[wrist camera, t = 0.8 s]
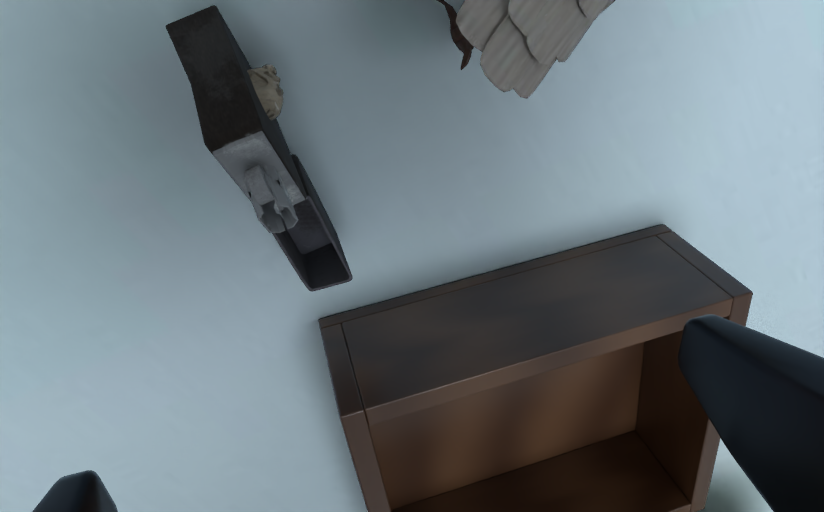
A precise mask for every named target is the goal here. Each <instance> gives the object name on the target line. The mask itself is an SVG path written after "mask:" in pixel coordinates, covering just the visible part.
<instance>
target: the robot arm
mask: <svg viewBox="0 0 824 512" xmlns="http://www.w3.org/2000/svg"><path fill="white" fill-rule="evenodd" d="M677 359H678V365H679V368H680V371H681V373H682V374H683V376H684V378H685V379H686V381H687V383H688V384H689V386H690V388H691V389H692V391H693V393H694V394H695V396H696V398H697V399H698V401H699V403H700V404H701V406H702V408H703V409H704V411H705V413H706V414H707V416H708V418H709V419H710V421H711V423H712V424H713V426H714V428H715V429H716V431H717V433H718V434H719V436H720V438H721V439H722V441H723V442H724V444H725V445H726V447H727V449H728V450H729V452H730V453H731V455H732V456H733V457H734V459H735V460H736V462H737V463H738V464H739V466H740V467H741V469H742V470H743V471H744V473H745V474H746V475H747V477H748V478H749V479H750V481H751V482H752V483H753V485H754V486H755V487H756V489H757V490H758V491H759V493H760V494H761V495H762V497H763V498H764V499H765V501H766V502H767V503H768V505H769V506H770V508H771V509H772V510H773V512H824V358H823V357H820V356H818V355H815V354H813V353H810V352H808V351H805V350H803V349H800V348H798V347H795V346H793V345H790V344H788V343H785V342H782V341H780V340H777V339H775V338H772V337H770V336H767V335H765V334H762V333H760V332H757V331H755V330H752V329H750V328H747V327H745V326H742V325H740V324H737V323H735V322H732V321H730V320H727V319H725V318H722V317H720V316H717V315H713V314H707V315H703V316H699V317H695V318H691V319H689V320H688V321H687V322H686V323H685V325H684V329H683V333H682V338H681V342H680V347H679V351H678V356H677ZM33 512H118V511H117V508H116V505H115V503H114V501H113V500H112V498H111V496H110V494H109V493H108V491H107V489H106V488H105V486H104V484H103V482H102V481H101V479H100V477H99V476H98V474H97V473H96V472H94V471H92V470H90V471H89V470H87V471H84V472H80V473H76V474H72V475H68V476H64V477H62V478H60V479H59V480H58V481H57V482H56V483H55V484H54V485H53V486H52V488H51V489H50V490H49V491H48V493H47V494H46V495H45V496H44V498H43V499H42V500H41V501H40V503H39V504H38V505H37V507H36V508H35V509H34V510H33Z"/></svg>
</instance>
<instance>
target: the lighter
mask: <svg viewBox="0 0 824 512" xmlns="http://www.w3.org/2000/svg"><path fill="white" fill-rule="evenodd" d="M166 29H167V31H168V33H169V36H170V38H171V40H172V42H173V45H174V47H175V49H176V51H177V54H178V56H179V58H180V60H181V63H182V65H183V67H184V70H185V72H186V74H187V76H188V79H189V81H190V83H191V87H192V91H193V95H194V100H195V104H196V108H197V113H198V117H199V121H200V126H201V130H202V134H203V139H204V143H205V145H206V146H207V148H208V149H209V151H210V152H211V153H212V154H213V156H214V157H215V158H216V159H217V161H218V162H219V163H220V164H221V165H222V167H223V168H224V169H225V170H226V172H227V173H228V174H229V175H230V176H231V178H232V179H233V180H234V181H235V182H236V184H237V185H238V186H239V187H240V189H241V190H242V191H243V192H244V193H245V195H246V196H247V197H248V198H249V199H250V201H251V202H252V204H253V207H254V209H255V212H256V215H257V218H258V220H259V221H260V222H261V223H262V225H263V226H264V227H265V228H266V229H267V230H268V232H269V233H272V234H273V235H274V237H275V239H276V240H277V242H278V243H279V245H280V247H281V248H282V250H283V252H284V253H285V255H286V256H287V258H288V260H289V261H290V263H291V264H292V266H293V268H294V269H295V271H296V272H297V274H298V276H299V277H300V279H301V280H302V282H303V283H304V284H305V286H306V287H307V288H308V290H309V291H316V290H320V289H324V288H327V287H331V286H335V285H338V284H342V283H345V282H349V281H351V280H352V274H351V272H350V269H349V266H348V263H347V261H346V258H345V255H344V252H343V250H342V247H341V244H340V241H339V239H338V236H337V233H336V231H335V229H334V227H333V225H332V223H331V221H330V219H329V217H328V215H327V213H326V211H325V209H324V207H323V205H322V203H321V201H320V199H319V197H318V195H317V193H316V191H315V189H314V187H313V185H312V183H311V181H310V179H309V177H308V175H307V174H306V172H305V170H304V168H303V166H302V164H301V163H300V161H299V159H298V157H297V156H296V155H291V154H290V152H289V149H288V147H287V144H286V142H285V139H284V137H283V134H282V132H281V129H280V127H279V124H278V122H277V120H276V117H278V116H279V114H280V112H281V109H282V105H283V90H282V89H281V88H280V87H279V82H280V78H279V77H278V76H276V74H277V73H276V69H275V67H274V66H273V65H270V64H269V65H265V66H263V67H262V68H255V69H252V68H251V67H250V65H249V63H248V61H247V60H246V58H245V56H244V54H243V52H242V51H241V49H240V47H239V45H238V44H237V42H236V40H235V38H234V37H233V35H232V33H231V31H230V29H229V28H228V26H227V24H226V22H225V21H224V19H223V17H222V15H221V14H220V12H219V10H218V8H217V7H216V6H215V5H213V6H210V7H208V8H206V9H203V10H201V11H198V12H196V13H194V14H191V15H189V16H187V17H184V18H182V19H179V20H177V21H175V22H172V23H170V24H167V25H166Z"/></svg>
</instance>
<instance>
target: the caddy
mask: <svg viewBox="0 0 824 512" xmlns="http://www.w3.org/2000/svg"><path fill="white" fill-rule="evenodd" d="M752 295H753V292H752V291H751V290H749V289H748V288H747V287H746V286H744V285H743V284H742V283H740V282H739V281H738V280H736V279H735V278H734V277H732V276H731V275H730V274H728V273H727V272H726V271H725V270H723V269H722V268H721V267H719V266H718V265H717V264H715V263H714V262H713V261H711V260H710V259H709V258H707V257H706V256H705V255H703V254H702V253H701V252H700V251H698V250H697V249H696V248H694V247H693V246H692V245H690V244H689V243H688V242H686V241H685V240H684V239H682V238H681V237H680V236H679V235H677V234H676V233H675V232H673V231H672V230H671V229H669V228H668V227H667V226H666V225H664V224H662V225H659V226H655V227H652V228H648V229H644V230H641V231H637V232H633V233H630V234H626V235H623V236H619V237H615V238H612V239H608V240H605V241H601V242H597V243H594V244H590V245H586V246H583V247H579V248H576V249H572V250H568V251H565V252H561V253H557V254H554V255H550V256H547V257H543V258H539V259H536V260H532V261H529V262H525V263H521V264H518V265H514V266H510V267H507V268H503V269H500V270H496V271H492V272H489V273H485V274H482V275H478V276H474V277H471V278H467V279H463V280H460V281H456V282H453V283H449V284H445V285H442V286H438V287H434V288H431V289H427V290H424V291H420V292H416V293H413V294H409V295H406V296H402V297H398V298H395V299H391V300H387V301H384V302H380V303H377V304H373V305H369V306H366V307H362V308H359V309H355V310H351V311H348V312H344V313H340V314H337V315H333V316H330V317H326V318H322V319H319V326H320V330H321V335H322V340H323V344H324V349H325V354H326V358H327V363H328V367H329V372H330V376H331V381H332V386H333V390H334V395H335V399H336V404H337V409H338V413H339V418H340V421H341V424H342V428H343V431H344V434H345V437H346V441H347V444H348V447H349V451H350V454H351V457H352V461H353V464H354V467H355V471H356V474H357V477H358V481H359V484H360V487H361V490H362V494H363V497H364V500H365V504H366V507H367V510H368V512H696V511H699V510H702V509H704V508H705V504H706V500H707V495H708V491H709V486H710V482H711V477H712V473H713V468H714V464H715V459H716V455H717V451H718V446H719V442H720V436H719V434H718V433H717V431H716V429H715V428H714V426H713V424H712V423H711V421H710V419H709V418H708V416H707V414H706V413H705V411H704V409H703V408H702V406H701V404H700V403H699V401H698V399H697V398H696V396H695V394H694V393H693V391H692V389H691V388H690V386H689V384H688V383H687V381H686V379H685V378H684V376H683V374H682V373H681V371H680V368H679V365H678V359H677V356H678V351H679V347H680V342H681V338H682V333H683V329H684V325H685V323H686V322H687V321H688V320H689V319H691V318H695V317H699V316H703V315H707V314H713V315H717V316H720V317H722V318H725V319H727V320H730V321H732V322H735V323H737V324H740V325H742V326H746V321H747V317H748V312H749V308H750V304H751V299H752Z"/></svg>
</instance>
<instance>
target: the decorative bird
mask: <svg viewBox="0 0 824 512" xmlns="http://www.w3.org/2000/svg"><path fill="white" fill-rule="evenodd" d="M437 1H439V2H441V3H442V4H443V5H445V8H446V11H447V13H448V16H449V19H450V32H451V36H452V39H453V42H454V43H455V44H456V46H457V47H458V48H459V50H461V51H462V52H463V53H464V56H463V60H462V64H461V70H462V69H463V68H464V67H465V66H466V65H467V64H468V62H469V60H470V57H471V53H472V51H471V50H472V49H473V48H474V47H475V48H477V49H478V50H480V51H482V55H481V58H480V65H481V67H482V69H483V72H484V74H485V76H486V77H487V78H488V79H489V80H490V81H491V82H492V83H493V85H494V86H495V87H497V88H498V89H500V90H501V91H503V92H507V91H510V90H511V89H514V90H515V92H516V93H517V94H518V95H519V96H520V97H523V98H528V97H530V96H531V94H532V93H533V92H534V91H535V90H536V88H537V87H538V85H539V84H540V83H541V81H542V80H543V78H544V77H545V75H546V74H547V72H548V71H549V69H550V68H551V67H552V65H553V64H554V62H555V61H556V59H557V60H558V61H559V62H565V61H566V60H567V59H568V57H569V56H570V54H571V53H572V51H573V50H574V49H575V47H576V46H577V44H578V43H579V41H580V40H581V39H582V37H583V36H584V34H585V33H586V31H587V30H588V28H589V27H590V25H591V24H592V22H593V21H594V20H595V19H596V18H597V17H598V15H599V14H600V13H602V12H603V11H604V10H605V9H606V8H607V7H608V6H610V5H611V4H612V3H613V2H614V1H615V0H465V1H464V3H463V5H462V6H461V8H460V10H459V11H458V14H457V13H456V12H455V10H454V8H453V7H452V6H451V5H449V4H448V3H447V2H445V1H444V0H437Z"/></svg>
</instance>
